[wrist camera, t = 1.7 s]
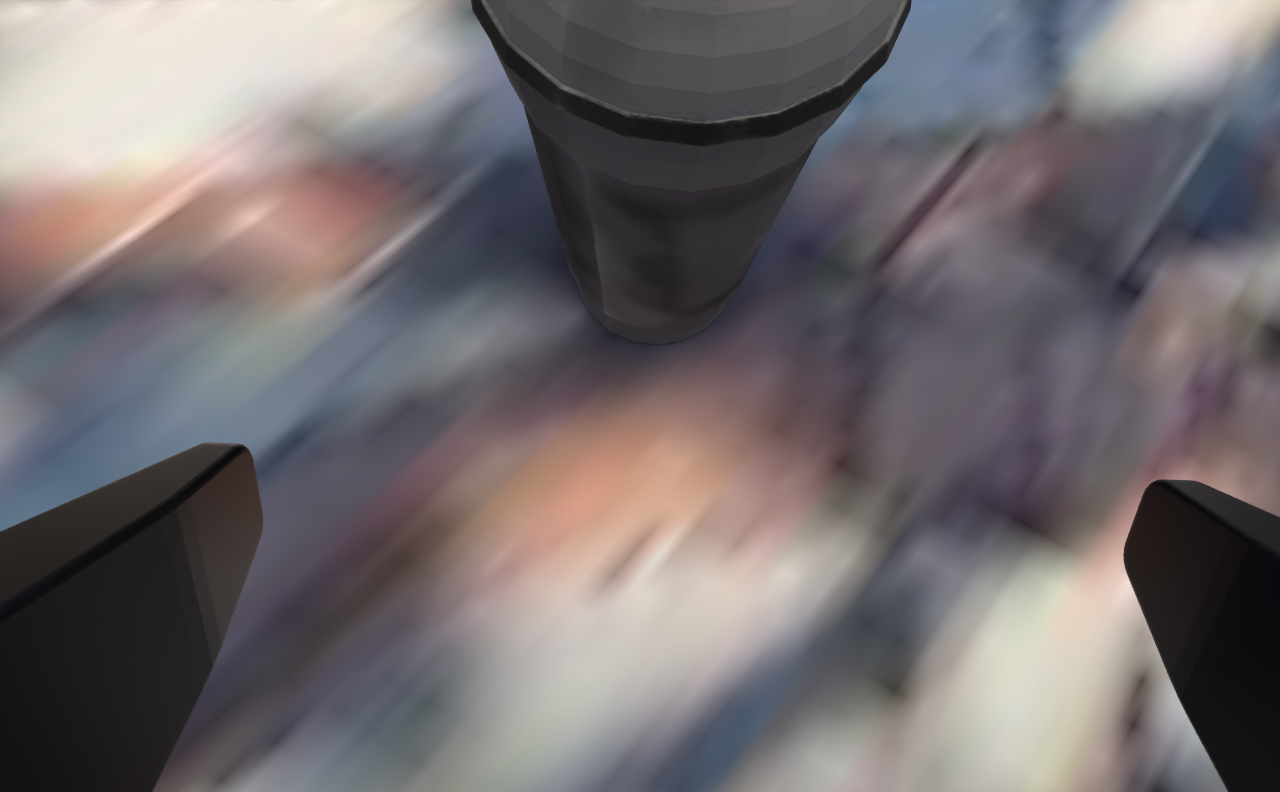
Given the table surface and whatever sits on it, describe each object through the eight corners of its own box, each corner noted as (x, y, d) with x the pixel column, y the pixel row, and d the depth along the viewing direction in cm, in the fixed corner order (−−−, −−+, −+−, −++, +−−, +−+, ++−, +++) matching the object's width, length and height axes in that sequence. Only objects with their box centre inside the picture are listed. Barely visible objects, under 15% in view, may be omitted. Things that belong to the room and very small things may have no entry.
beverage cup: (823, 345, 25) (1529, -801, 6) (573, 429, 24) (440, -625, 5) (726, 131, 27) (1011, -1220, 8) (493, 200, 26) (177, -1162, 7)
